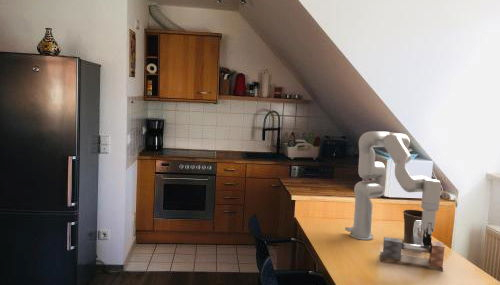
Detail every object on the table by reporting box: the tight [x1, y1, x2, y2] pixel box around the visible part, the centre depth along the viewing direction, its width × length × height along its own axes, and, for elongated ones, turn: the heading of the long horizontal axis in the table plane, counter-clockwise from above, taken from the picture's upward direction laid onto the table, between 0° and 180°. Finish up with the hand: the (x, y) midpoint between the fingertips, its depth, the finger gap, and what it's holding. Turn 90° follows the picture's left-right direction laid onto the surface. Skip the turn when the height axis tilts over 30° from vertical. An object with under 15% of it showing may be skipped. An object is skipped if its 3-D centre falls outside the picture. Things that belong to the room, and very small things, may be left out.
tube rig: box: [379, 236, 445, 272], centre depth 192 cm, size 27×10×11 cm, turn 72°
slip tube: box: [402, 236, 432, 254], centre depth 191 cm, size 19×3×9 cm, turn 72°
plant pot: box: [402, 209, 423, 244], centre depth 222 cm, size 16×16×16 cm
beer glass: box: [413, 220, 424, 253], centre depth 209 cm, size 7×7×15 cm
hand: (426, 243), depth 190 cm, fingers closed on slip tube, 3 cm apart
